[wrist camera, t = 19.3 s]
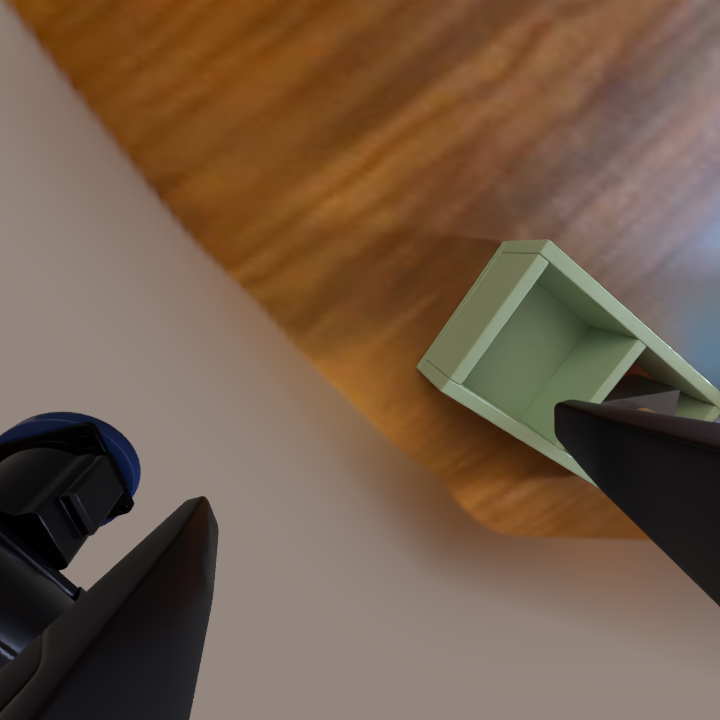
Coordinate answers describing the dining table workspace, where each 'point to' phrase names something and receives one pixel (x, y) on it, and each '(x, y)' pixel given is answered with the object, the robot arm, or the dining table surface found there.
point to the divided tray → (549, 348)
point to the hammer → (643, 395)
